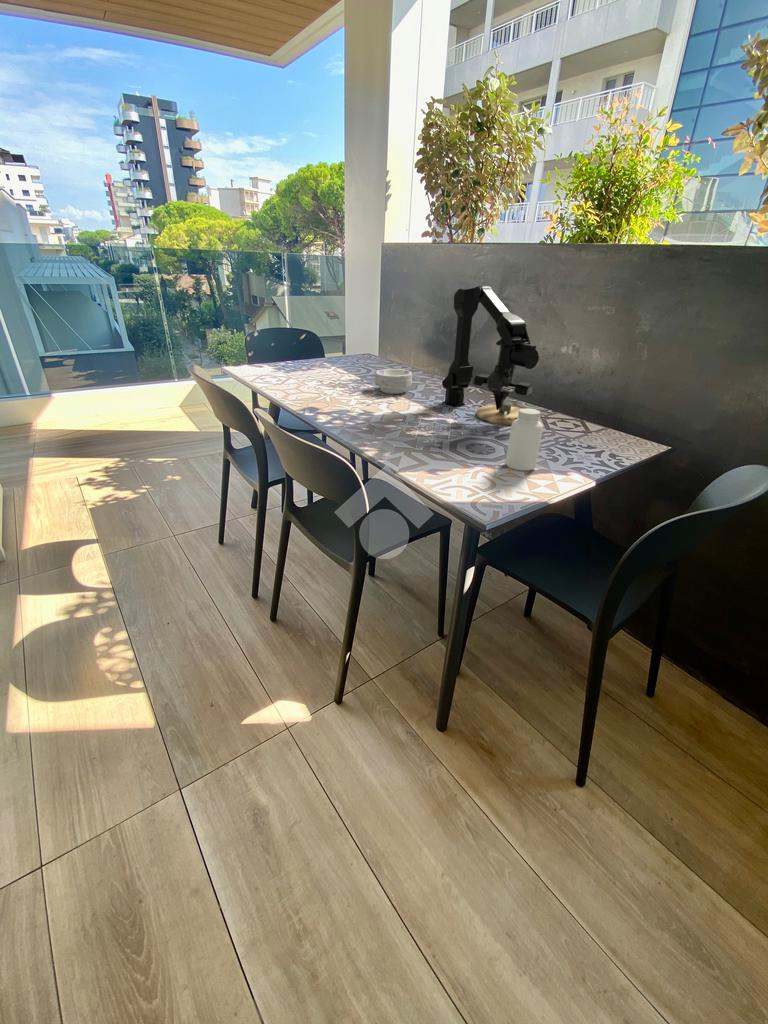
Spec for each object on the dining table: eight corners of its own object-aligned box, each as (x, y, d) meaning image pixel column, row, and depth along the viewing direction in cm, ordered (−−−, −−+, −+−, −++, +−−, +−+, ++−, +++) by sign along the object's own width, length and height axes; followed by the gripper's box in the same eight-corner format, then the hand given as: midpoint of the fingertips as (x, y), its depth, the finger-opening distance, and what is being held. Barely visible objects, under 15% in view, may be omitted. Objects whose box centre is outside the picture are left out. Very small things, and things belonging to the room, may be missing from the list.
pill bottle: (500, 460, 124) (509, 406, 117) (529, 459, 125) (539, 406, 118) (510, 471, 117) (520, 415, 110) (540, 471, 118) (552, 415, 111)
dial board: (465, 414, 160) (466, 409, 160) (498, 406, 172) (498, 401, 171) (510, 428, 148) (511, 423, 147) (542, 418, 159) (543, 413, 158)
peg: (498, 409, 161) (501, 395, 159) (510, 410, 160) (512, 396, 158) (497, 422, 148) (500, 407, 146) (510, 423, 147) (512, 408, 145)
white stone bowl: (373, 386, 193) (373, 367, 189) (408, 386, 195) (409, 368, 191) (376, 396, 180) (376, 375, 176) (414, 396, 181) (415, 376, 177)
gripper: (469, 360, 142) (462, 408, 150) (525, 371, 133) (515, 422, 141) (484, 356, 150) (476, 402, 158) (538, 365, 141) (527, 414, 149)
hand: (497, 409), depth 151 cm, fingers closed
